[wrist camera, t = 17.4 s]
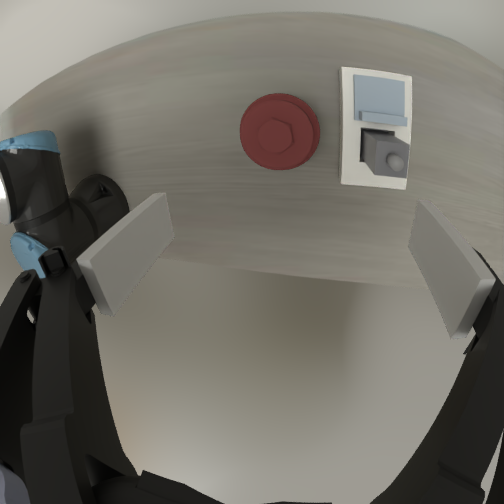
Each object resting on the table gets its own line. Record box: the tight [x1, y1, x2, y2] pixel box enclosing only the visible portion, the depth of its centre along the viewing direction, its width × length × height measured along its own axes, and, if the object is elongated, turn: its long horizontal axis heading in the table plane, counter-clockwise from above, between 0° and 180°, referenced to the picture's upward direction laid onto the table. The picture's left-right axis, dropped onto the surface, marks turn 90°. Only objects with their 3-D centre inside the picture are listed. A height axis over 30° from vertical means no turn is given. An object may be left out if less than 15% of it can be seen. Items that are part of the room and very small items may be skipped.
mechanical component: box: [240, 93, 320, 170], centre depth 33 cm, size 12×10×10 cm
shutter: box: [353, 74, 408, 127], centre depth 28 cm, size 7×6×4 cm
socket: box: [339, 67, 412, 190], centre depth 33 cm, size 10×17×4 cm, turn 3°
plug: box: [360, 129, 410, 179], centre depth 30 cm, size 4×4×14 cm
